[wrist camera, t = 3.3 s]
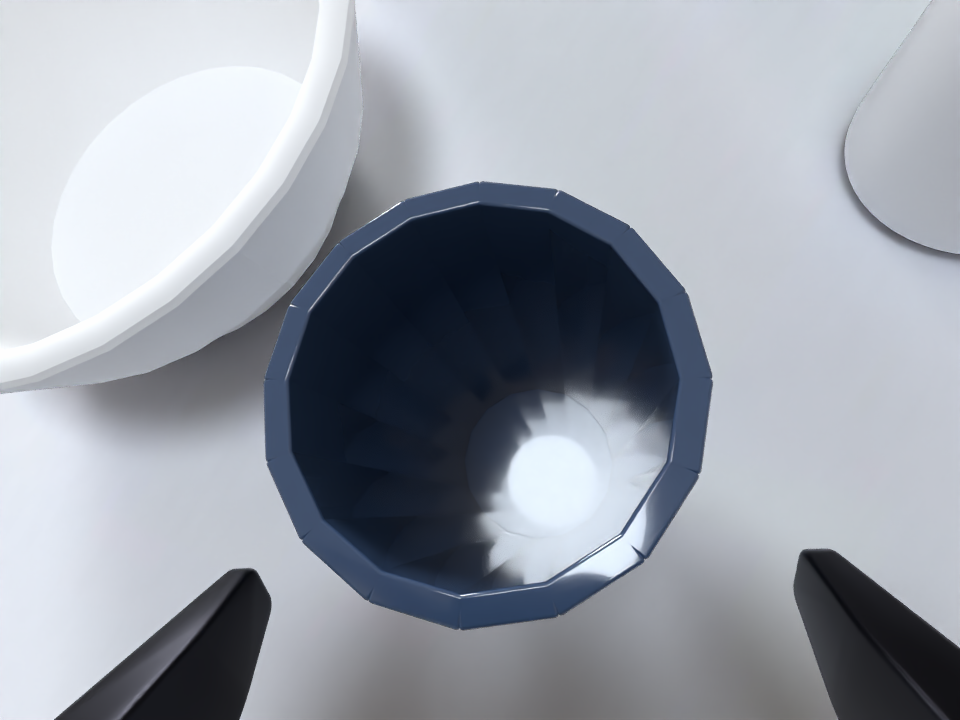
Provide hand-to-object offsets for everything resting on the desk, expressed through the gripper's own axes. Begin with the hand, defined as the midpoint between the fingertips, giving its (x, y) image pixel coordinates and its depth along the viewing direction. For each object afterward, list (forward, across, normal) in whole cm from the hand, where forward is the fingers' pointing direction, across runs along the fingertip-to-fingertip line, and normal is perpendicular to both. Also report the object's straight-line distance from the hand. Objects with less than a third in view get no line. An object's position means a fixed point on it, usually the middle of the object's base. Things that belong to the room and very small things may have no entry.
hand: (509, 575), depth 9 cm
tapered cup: (+9, 0, +6) cm, 11 cm away
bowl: (+19, +15, -4) cm, 25 cm away
